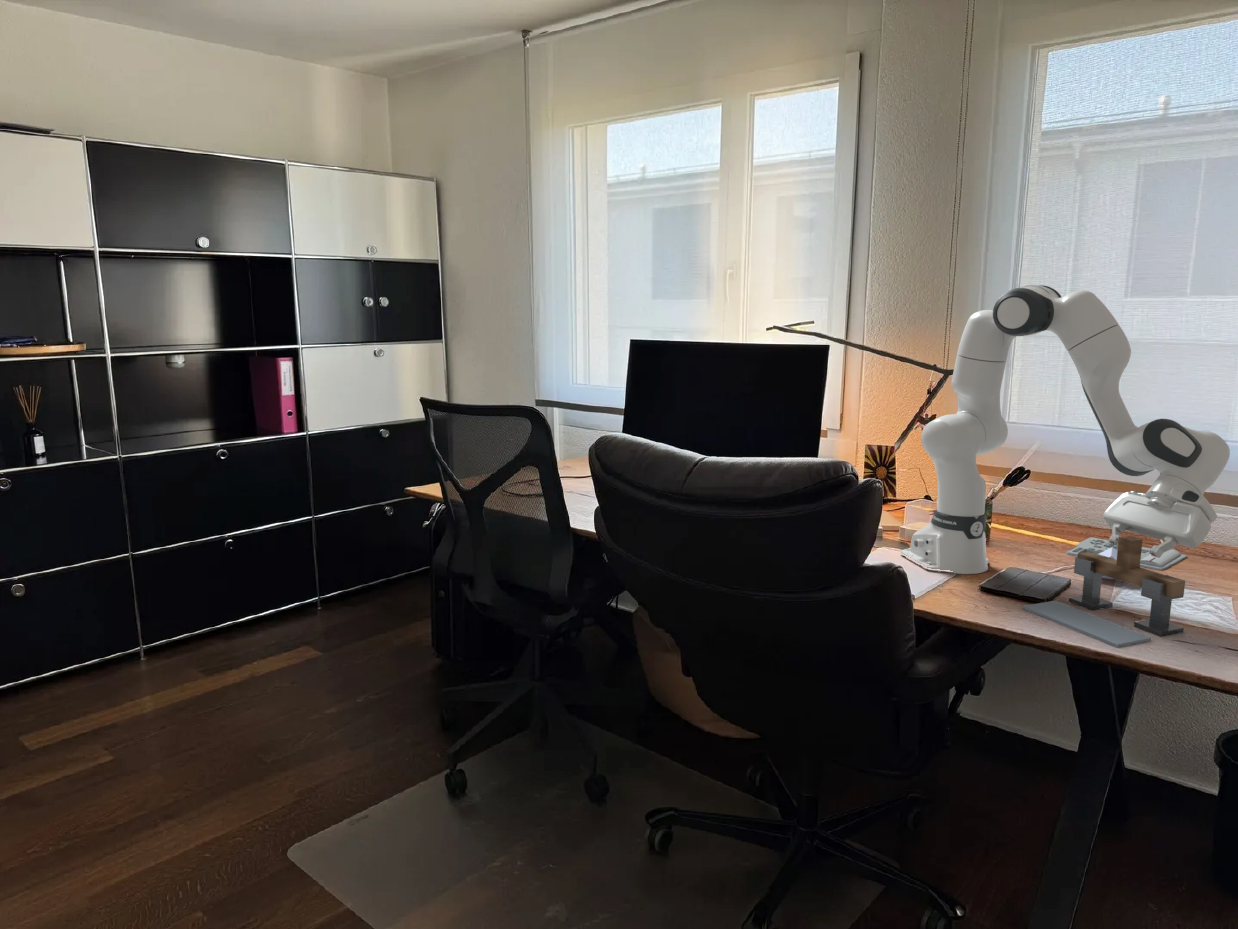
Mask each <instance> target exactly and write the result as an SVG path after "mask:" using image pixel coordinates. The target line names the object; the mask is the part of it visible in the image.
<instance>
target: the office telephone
mask: <svg viewBox="0 0 1238 929" xmlns="http://www.w3.org/2000/svg"><path fill="white" fill-rule="evenodd" d="M1108 540H1109V539H1102V538H1096V537H1093V536H1091V537H1088V538H1086V539H1084V540H1082V541H1081V542H1078V543H1077V544H1076V547H1074V548H1072V549H1069V550H1068V551H1066V554H1065V555H1066V556H1071V557H1074V558H1075V557H1077V556H1078V553H1082V552H1091V553H1094V554H1099V553H1101V552H1103V551H1105V550H1107V549H1109V548H1111V547H1113V548H1114V549H1115V550H1117V551H1118V546H1115V545H1112V544H1110V542H1109V541H1108ZM1150 549H1152V547H1151V548H1150V547H1145V546H1142V550H1141V560H1140V568H1144V569H1148V570H1153V571H1154V570H1155V571H1164V570H1166V569H1168V568H1170V567H1171V566H1174V565H1176V564H1178V563H1179V562H1180V561H1182V560H1184V559H1186V558H1187V557H1188V556H1187V554H1181V552H1180V551H1178V550H1176V549H1174V548H1173V549H1170V550H1168V551H1166V552H1164V553H1163V554H1162V556H1161V557H1160V558H1157V557H1154V556H1152V555H1151V554H1150V553H1149V551H1150Z"/></svg>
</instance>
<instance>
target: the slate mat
mask: <svg viewBox="0 0 1238 929" xmlns="http://www.w3.org/2000/svg"><path fill="white" fill-rule="evenodd" d="M1022 610H1024V611H1028V612H1030V613H1032V614H1034V615H1037V616H1040V617H1042V618H1045V619H1047V620H1049V621H1052V622H1054V623H1057V624H1059V625H1062V626H1064V627H1066V628H1068V629H1071V630H1074V631H1076V632H1078V633H1081V634H1084V635H1086V636H1088V637H1091V638H1093V639H1096V640H1098V641H1100V642H1103V643H1105V644H1108V645H1110V646H1113V647H1115V648H1121V647H1125V646H1130V645H1135V644H1140V643H1144V642H1145V643H1146V642H1151V641H1152V637H1151V636H1148V635H1146V634H1143V633H1140V632H1138V631H1135V630H1133V629H1131V628H1128V627H1125V626H1122V625H1119V624H1117V623H1115V622H1111V621H1110V620H1107V619H1104V618H1101V617H1098V616H1096V615H1093V614H1092V613H1091V614H1090V613H1089V612H1086V611H1083V610H1080V609H1078V608H1076V607H1072V606H1070V605H1067V604H1065V603H1062V602H1060V601H1057V600H1052V601H1044V602H1039V603H1032V604H1026V605H1022Z"/></svg>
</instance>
